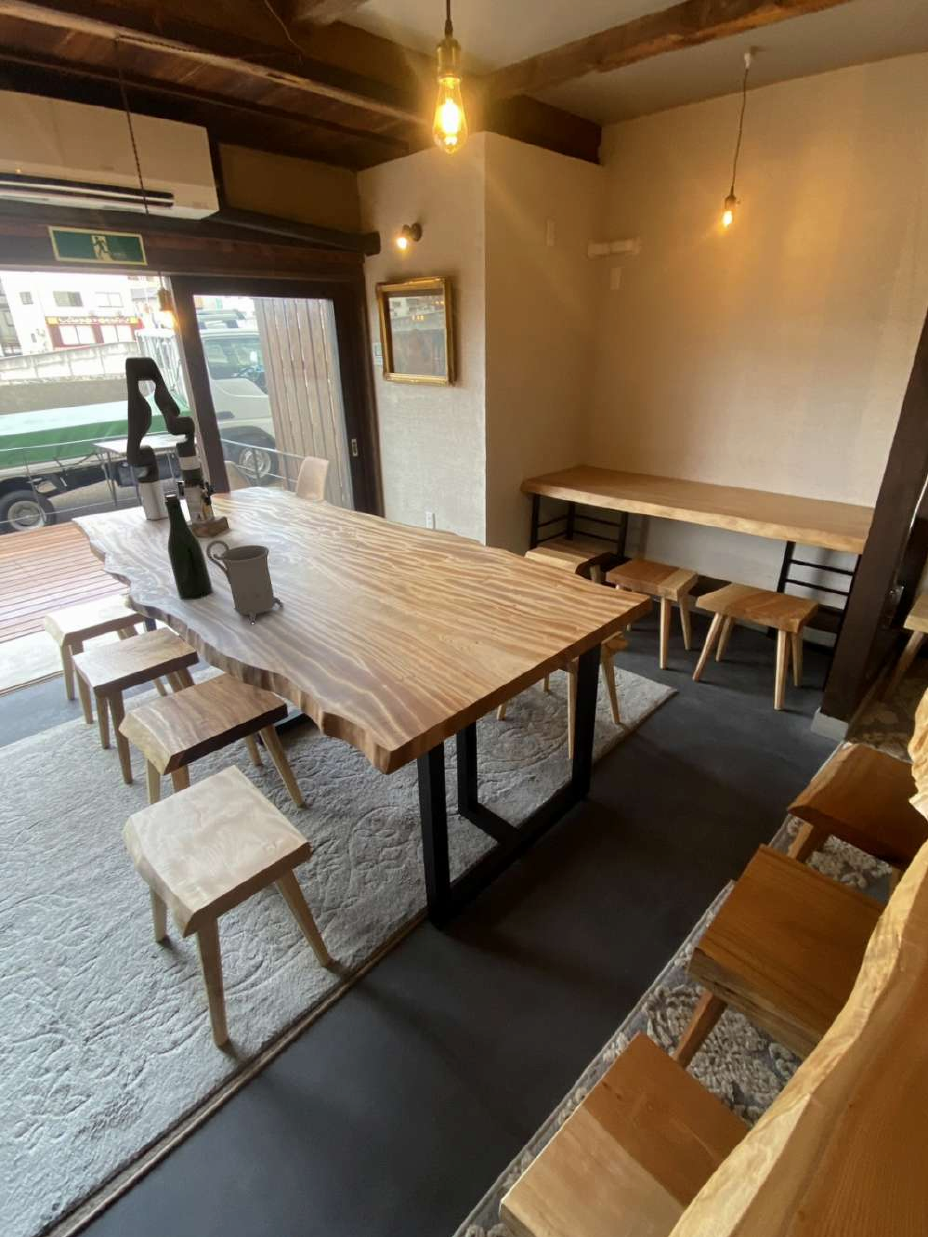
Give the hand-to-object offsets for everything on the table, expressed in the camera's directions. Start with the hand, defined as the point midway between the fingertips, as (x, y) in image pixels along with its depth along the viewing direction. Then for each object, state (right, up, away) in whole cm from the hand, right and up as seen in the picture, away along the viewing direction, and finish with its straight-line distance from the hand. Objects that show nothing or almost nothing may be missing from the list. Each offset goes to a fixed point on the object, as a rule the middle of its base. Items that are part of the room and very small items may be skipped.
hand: (199, 505), depth 252 cm
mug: (+49, -47, -72) cm, 99 cm away
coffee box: (0, -6, +3) cm, 7 cm away
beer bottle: (+24, -40, -56) cm, 73 cm away
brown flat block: (0, -11, +5) cm, 12 cm away
